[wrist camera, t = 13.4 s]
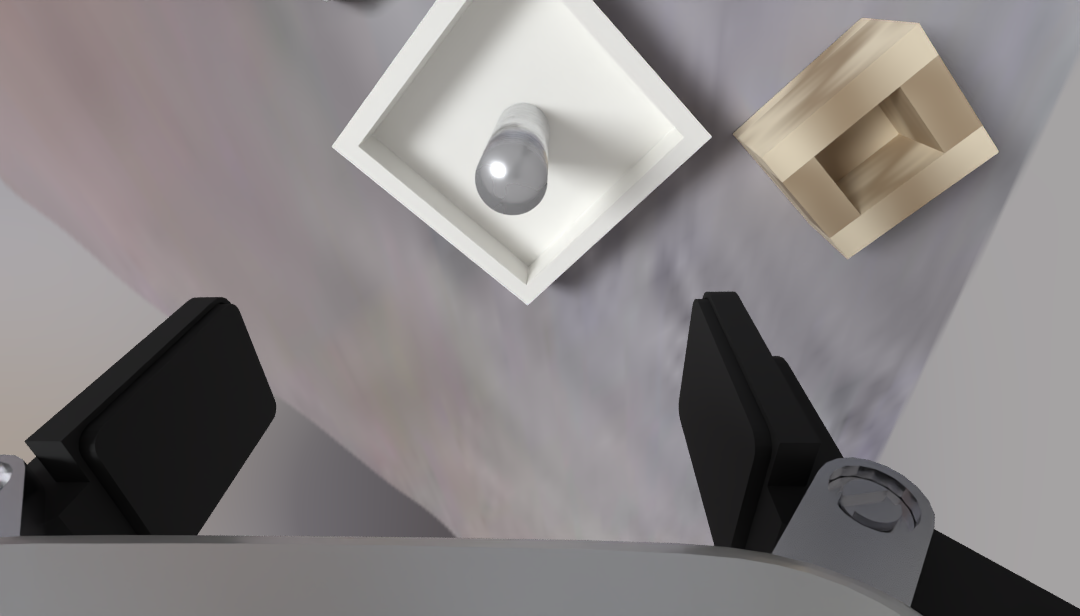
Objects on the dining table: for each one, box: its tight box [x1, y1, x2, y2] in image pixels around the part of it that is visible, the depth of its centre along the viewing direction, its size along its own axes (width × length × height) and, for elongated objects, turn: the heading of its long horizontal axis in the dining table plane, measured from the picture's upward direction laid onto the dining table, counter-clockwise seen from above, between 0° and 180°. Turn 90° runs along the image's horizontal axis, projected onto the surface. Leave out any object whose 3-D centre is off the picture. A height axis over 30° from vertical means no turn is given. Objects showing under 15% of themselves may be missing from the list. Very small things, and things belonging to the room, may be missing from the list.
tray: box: [332, 0, 712, 305], centre depth 29 cm, size 14×14×4 cm
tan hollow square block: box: [733, 18, 999, 259], centre depth 28 cm, size 8×8×5 cm
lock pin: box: [475, 102, 550, 215], centre depth 25 cm, size 3×3×9 cm
